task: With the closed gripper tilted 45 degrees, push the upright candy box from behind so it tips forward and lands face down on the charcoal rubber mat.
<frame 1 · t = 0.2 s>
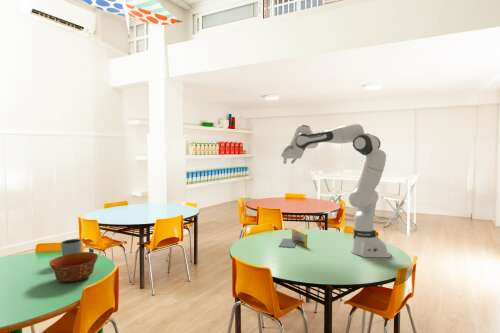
hand: (288, 163, 234), 54 cm above the table, tool tilted 30°, fingers open, 8 cm apart
bowl: (74, 279, 159), on the table
grey cylinder: (71, 262, 184), on the table
candy box: (298, 243, 219), on the table, touching mat
mat: (288, 243, 221), on the table
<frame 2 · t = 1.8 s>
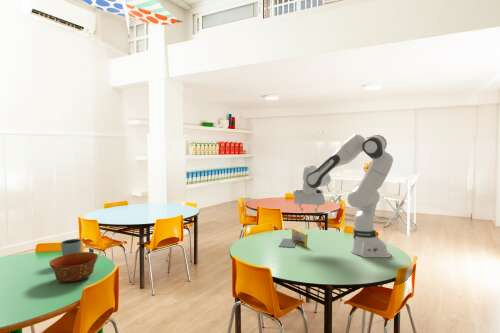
hand: (308, 210, 217), 22 cm above the table, tool pointing down, fingers open, 8 cm apart
nothing on the table moved.
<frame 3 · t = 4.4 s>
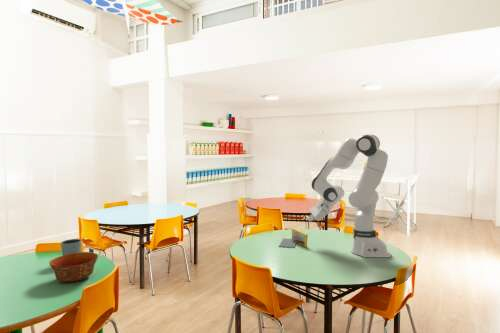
hand: (308, 220, 217), 16 cm above the table, tool tilted 45°, fingers closed
nothing on the table moved.
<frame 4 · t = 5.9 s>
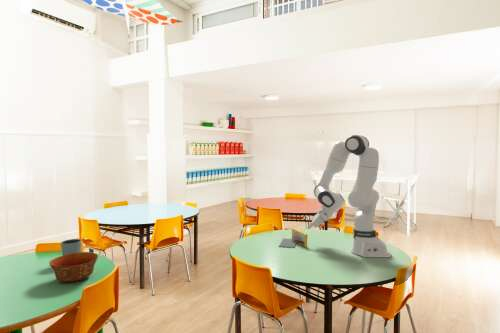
hand: (308, 227, 217), 12 cm above the table, tool tilted 45°, fingers closed
nothing on the table moved.
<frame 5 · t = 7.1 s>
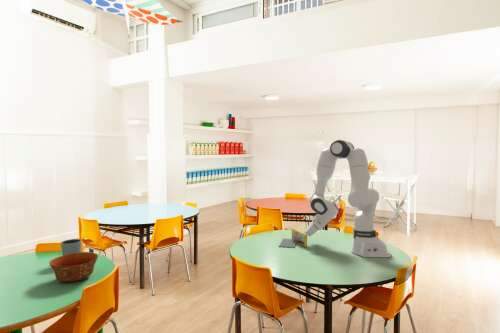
hand: (303, 235, 218), 6 cm above the table, tool tilted 45°, fingers closed
candy box: (299, 243, 219), on the table, touching gripper, mat
everything else where it was.
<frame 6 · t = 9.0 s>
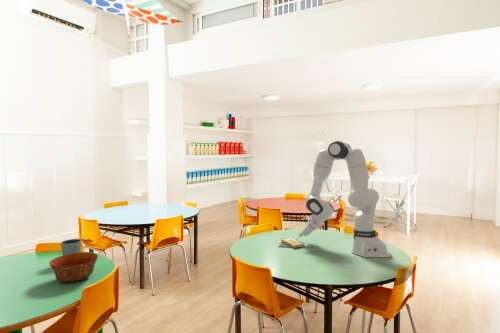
hand: (299, 236, 218), 5 cm above the table, tool tilted 45°, fingers closed
candy box: (298, 241, 219), point 1 cm above the table, touching mat
everything else where it was.
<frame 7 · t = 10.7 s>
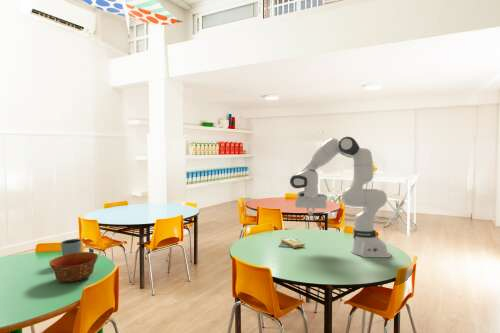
hand: (310, 214, 216), 20 cm above the table, tool pointing down, fingers closed
nothing on the table moved.
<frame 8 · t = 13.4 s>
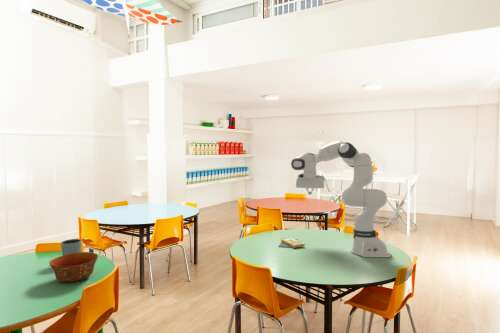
hand: (309, 194, 237), 31 cm above the table, tool pointing down, fingers closed
nothing on the table moved.
at the end: candy box tilted 88°; candy box touching mat; candy box inside the target area (4.0 cm from its centre), point 1.4 cm above the table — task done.
